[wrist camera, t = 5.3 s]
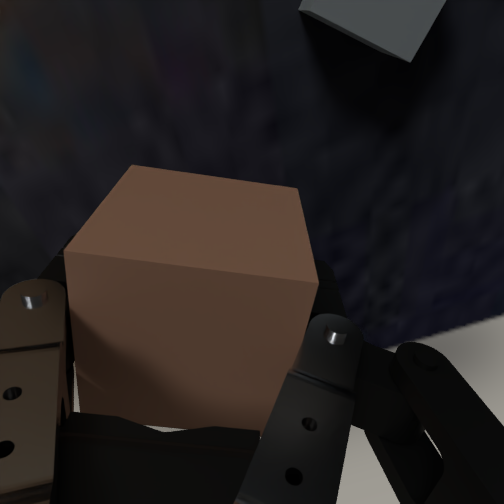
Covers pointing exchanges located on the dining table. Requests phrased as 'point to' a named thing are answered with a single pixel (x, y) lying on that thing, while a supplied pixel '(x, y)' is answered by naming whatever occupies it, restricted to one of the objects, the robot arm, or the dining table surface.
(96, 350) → the terracotta cube
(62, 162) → the dining table surface
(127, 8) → the dining table surface
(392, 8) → the blue-grey cube
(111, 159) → the dining table surface
